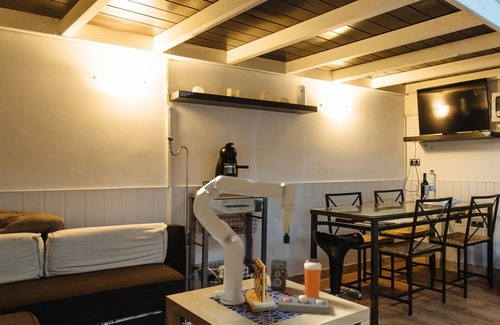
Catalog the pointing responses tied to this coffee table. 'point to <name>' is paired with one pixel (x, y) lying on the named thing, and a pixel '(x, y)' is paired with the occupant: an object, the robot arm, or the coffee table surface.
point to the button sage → (320, 302)
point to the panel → (303, 305)
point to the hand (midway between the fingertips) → (286, 243)
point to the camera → (278, 274)
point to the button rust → (286, 300)
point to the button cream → (303, 299)
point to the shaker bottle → (312, 278)
